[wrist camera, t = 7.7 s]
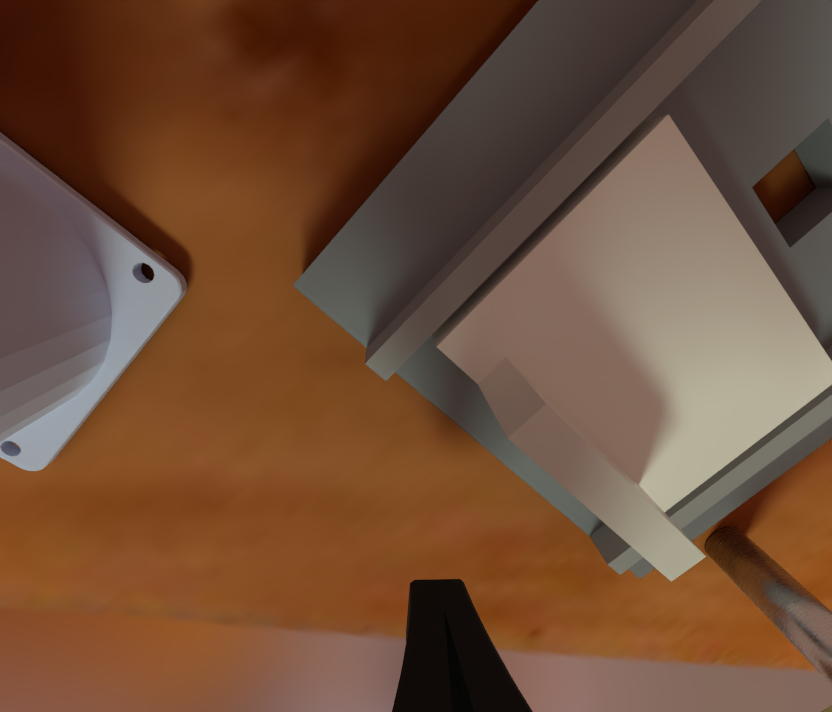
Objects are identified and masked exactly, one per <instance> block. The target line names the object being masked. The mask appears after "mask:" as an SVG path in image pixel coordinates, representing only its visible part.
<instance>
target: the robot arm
mask: <svg viewBox="0 0 832 712" xmlns="http://www.w3.org/2000/svg"><path fill="white" fill-rule="evenodd" d="M143 263H145V264H147V265H149V266H150V267H151V268H152V269H153V271H154V278H153V280H152V281H151V280H149V279H147V278H145V276H144V275H143V274H142V271H141V267H142V264H143ZM186 291H187V283H186V281H185V278H184V276H183V275H182V274H181V273H180V272H179V271H178V270H177V269H176V268H174V267H173V266H172V265H171V264H169V263H168V262H167V261H165V260H164V259H163V258H162V257H160V256H159V255H158V254H156V253H155V252H154V251H153V250H151V249H150V248H149V247H147V246H146V245H145V244H144V243H142V242H141V241H140V240H138V239H137V238H136V237H135V236H133V235H132V234H131V233H129V232H128V231H127V230H126V229H124V228H123V227H122V226H120V225H119V224H118V223H117V222H115V221H114V220H113V219H111V218H110V217H109V216H108V215H106V214H105V213H104V212H102V211H101V210H100V209H99V208H97V207H96V206H95V205H93V204H92V203H91V202H90V201H88V200H87V199H86V198H84V197H83V196H82V195H81V194H79V193H78V192H77V191H75V190H74V189H73V188H72V187H70V186H69V185H68V184H66V183H65V182H64V181H63V180H61V179H60V178H59V177H57V176H56V175H55V174H54V173H52V172H51V171H50V170H48V169H47V168H46V167H45V166H43V165H42V164H41V163H39V162H38V161H37V160H35V159H34V158H33V157H32V156H30V155H29V154H28V153H26V152H25V151H24V150H23V149H21V148H20V147H19V146H17V145H16V144H15V143H14V142H12V141H11V140H10V139H8V138H7V137H6V136H5V135H3V134H2V133H1V132H0V457H1V458H3V459H5V460H7V461H8V462H10V463H12V464H14V465H16V466H18V467H19V468H22V469H24V470H27V471H38V470H41V469H43V468H44V467H45V466H47V465H48V464H49V463H51V462H52V461H53V460H54V459H55V458H56V457H57V455H58V454H59V453H60V451H61V450H62V449H63V448H64V446H65V445H66V444H67V443H68V441H69V440H70V439H71V438H72V436H73V435H74V434H75V433H76V431H77V430H78V429H79V428H80V426H81V425H82V424H83V423H84V421H85V420H86V419H87V418H88V416H89V415H90V414H91V412H92V411H93V410H94V409H95V407H96V406H97V405H98V404H99V402H100V401H101V400H102V399H103V397H104V396H105V395H106V394H107V392H108V391H109V390H110V389H111V387H112V386H113V385H114V384H115V382H116V381H117V380H118V379H119V377H120V376H121V375H122V374H123V372H124V371H125V370H126V368H127V367H128V366H129V365H130V363H131V362H132V361H133V360H134V358H135V357H136V356H137V355H138V353H139V352H140V351H141V350H142V348H143V347H144V346H145V345H146V343H147V342H148V341H149V340H150V338H151V337H152V336H153V335H154V333H155V332H156V331H157V329H158V328H159V327H160V326H161V324H162V323H163V322H164V321H165V319H166V318H167V317H168V316H169V314H170V313H171V312H172V311H173V309H174V308H175V307H176V306H177V304H178V303H179V302H180V301H181V299H182V298H183V297H184V295H185V293H186ZM13 442H15V443H16V444H17V445H18V446H19V447H20V448H19V447H17V446H16V445H15V444H14V443H13ZM392 712H532V710H531V709H530V707H529V705H528V704H527V702H526V700H525V699H524V697H523V695H522V694H521V692H520V691H519V689H518V687H517V686H516V684H515V682H514V681H513V679H512V677H511V675H510V674H509V672H508V670H507V668H506V667H505V665H504V663H503V661H502V659H501V658H500V656H499V654H498V652H497V650H496V649H495V647H494V645H493V643H492V641H491V639H490V638H489V636H488V634H487V632H486V630H485V628H484V626H483V624H482V622H481V620H480V618H479V616H478V614H477V612H476V609H475V607H474V605H473V603H472V601H471V599H470V596H469V594H468V592H467V589H466V587H465V584H464V582H463V581H462V580H461V579H442V580H414V581H413V582H411V583H410V591H409V603H408V616H407V628H406V648H405V654H404V660H403V665H402V670H401V675H400V680H399V684H398V689H397V693H396V697H395V701H394V706H393V710H392Z"/></svg>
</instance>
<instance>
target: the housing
mask: <svg viewBox="0 0 832 712" xmlns="http://www.w3.org/2000/svg"><path fill="white" fill-rule="evenodd" d="M668 114H669V116H670V117H671V119H672V120H673V122H674V123H675V125H676V126H677V128H678V129H679V131H680V132H681V134H682V135H683V137H684V138H685V140H686V141H687V143H688V144H689V146H690V147H691V149H692V151H693V152H694V154H695V155H696V157H697V158H698V160H699V161H700V163H701V164H702V166H703V167H704V169H705V170H706V172H707V173H708V175H709V176H710V178H711V179H712V181H713V182H714V184H715V185H716V187H717V188H718V190H719V191H720V193H721V194H722V196H723V197H724V199H725V200H726V202H727V203H728V205H729V207H730V208H731V210H732V211H733V213H734V214H735V216H736V217H737V219H738V220H739V222H740V223H741V225H742V226H743V228H744V229H745V231H746V232H747V234H748V235H749V237H750V238H751V240H752V241H753V243H754V244H755V246H756V247H757V249H758V250H759V252H760V253H761V255H762V256H763V258H764V260H765V261H766V263H767V264H768V266H769V267H770V269H771V270H772V272H773V273H774V275H775V276H776V278H777V279H778V281H779V282H780V284H781V285H782V287H783V288H784V290H785V291H786V293H787V294H788V296H789V297H790V299H791V300H792V302H793V303H794V305H795V306H796V308H797V309H798V311H799V313H800V314H801V316H802V317H803V319H804V320H805V322H806V323H807V325H808V326H809V328H810V329H811V331H812V332H813V334H814V335H815V337H816V338H817V340H818V341H819V343H820V344H821V346H822V347H823V349H824V350H825V352H826V353H827V355H828V356H829V358H830V359H831V361H832V0H538V1H537V3H536V4H535V5H534V6H533V7H532V8H531V10H530V11H529V12H528V13H527V14H526V15H525V17H524V18H523V19H522V20H521V21H520V22H519V24H518V25H517V26H516V27H515V28H514V29H513V30H512V32H511V33H510V34H509V35H508V36H507V37H506V39H505V40H504V41H503V42H502V43H501V44H500V46H499V47H498V48H497V49H496V50H495V51H494V53H493V54H492V55H491V56H490V57H489V58H488V59H487V61H486V62H485V63H484V64H483V65H482V66H481V68H480V69H479V70H478V71H477V72H476V73H475V75H474V76H473V77H472V78H471V79H470V80H469V82H468V83H467V84H466V85H465V86H464V87H463V88H462V90H461V91H460V92H459V93H458V94H457V95H456V97H455V98H454V99H453V100H452V101H451V102H450V104H449V105H448V106H447V107H446V108H445V109H444V111H443V112H442V113H441V114H440V115H439V116H438V118H437V119H436V120H435V121H434V122H433V123H432V124H431V126H430V127H429V128H428V129H427V130H426V131H425V133H424V134H423V135H422V136H421V137H420V138H419V140H418V141H417V142H416V143H415V144H414V145H413V147H412V148H411V149H410V150H409V151H408V152H407V153H406V155H405V156H404V157H403V158H402V159H401V160H400V162H399V163H398V164H397V165H396V166H395V167H394V169H393V170H392V171H391V172H390V173H389V174H388V176H387V177H386V178H385V179H384V180H383V181H382V182H381V184H380V185H379V186H378V187H377V188H376V189H375V191H374V192H373V193H372V194H371V195H370V196H369V198H368V199H367V200H366V201H365V202H364V203H363V205H362V206H361V207H360V208H359V209H358V210H357V211H356V213H355V214H354V215H353V216H352V217H351V218H350V220H349V221H348V222H347V223H346V224H345V225H344V227H343V228H342V229H341V230H340V231H339V232H338V234H337V235H336V236H335V237H334V238H333V239H332V240H331V242H330V243H329V244H328V245H327V246H326V247H325V249H324V250H323V251H322V252H321V253H320V254H319V256H318V257H317V258H316V259H315V260H314V261H313V263H312V264H311V265H310V266H309V267H308V268H307V269H306V271H305V272H304V273H303V274H302V275H301V276H300V278H299V279H298V280H297V281H296V282H295V283H294V285H293V286H294V287H295V288H296V289H297V290H299V291H300V292H301V293H302V294H303V295H304V296H306V297H307V298H308V299H309V300H310V301H312V302H313V303H314V304H315V305H316V306H318V307H319V308H320V309H321V310H322V311H323V312H325V313H326V314H327V315H328V316H329V317H331V318H332V319H333V320H334V321H335V322H336V323H338V324H339V325H340V326H341V327H342V328H344V329H345V330H346V331H347V332H348V333H350V334H351V335H352V336H353V337H354V338H355V339H357V340H358V341H359V342H360V343H361V344H363V345H364V346H365V347H366V348H367V349H366V358H365V364H366V365H367V366H368V367H370V368H371V369H372V370H373V371H374V372H376V373H377V374H378V375H379V376H380V377H382V378H383V379H384V380H385V381H387V380H388V379H389V378H390V377H391V376H392V375H393V374H394V373H395V372H396V373H397V374H398V375H399V376H400V377H402V378H403V379H404V380H405V381H406V382H408V383H409V384H410V385H411V386H412V387H414V388H415V389H416V390H417V391H418V392H419V393H421V394H422V395H423V396H424V397H425V398H427V399H428V400H429V401H430V402H431V403H432V404H434V405H435V406H436V407H437V408H438V409H440V410H441V411H442V412H443V413H444V414H446V415H447V416H448V417H449V418H450V419H451V420H453V421H454V422H455V423H456V424H457V425H459V426H460V427H461V428H462V429H463V430H464V431H466V432H467V433H468V434H469V435H470V436H472V437H473V438H474V439H475V440H476V441H478V442H479V443H480V444H481V445H482V446H483V447H485V448H486V449H487V450H488V451H489V452H491V453H492V454H493V455H494V456H495V457H496V458H498V459H499V460H500V461H501V462H502V463H504V464H505V465H506V466H507V467H508V468H510V469H511V470H512V471H513V472H514V473H515V474H517V475H518V476H519V477H520V478H521V479H523V480H524V481H525V482H526V483H527V484H528V485H530V486H531V487H532V488H533V489H534V490H536V491H537V492H538V493H539V494H540V495H542V496H543V497H544V498H545V499H546V500H547V501H549V502H550V503H551V504H552V505H553V506H555V507H556V508H557V509H558V510H559V511H560V512H562V513H563V514H564V515H565V516H566V517H568V518H569V519H570V520H571V521H572V522H574V523H575V524H576V525H577V526H578V527H579V528H581V529H582V530H583V531H584V532H585V533H587V534H588V535H589V536H590V538H591V539H592V541H593V542H594V544H595V545H596V547H597V549H598V550H599V552H600V553H601V555H602V556H603V558H604V559H605V561H606V563H607V564H608V565H609V566H610V567H611V568H613V569H614V570H615V571H616V572H617V573H619V574H620V575H621V574H622V573H623V572H625V571H626V570H627V569H629V570H630V571H632V572H633V573H634V574H635V575H636V576H638V577H639V578H640V579H641V578H642V577H643V576H645V575H646V574H647V573H649V572H650V571H652V570H653V569H654V568H655V567H654V566H653V565H652V564H651V563H649V562H648V561H647V560H646V559H645V558H644V557H643V556H641V555H640V554H639V553H638V552H637V551H636V550H635V549H633V548H632V547H631V546H630V545H629V544H628V543H627V542H625V541H624V540H623V539H622V538H621V537H620V536H619V535H617V534H616V533H615V532H614V531H613V530H612V529H611V528H609V527H608V526H607V525H606V524H605V523H604V522H603V521H601V520H600V519H599V518H598V517H597V516H596V515H595V514H593V513H592V512H591V511H590V510H589V509H588V508H587V507H585V506H584V505H583V504H582V503H581V502H580V501H579V500H577V499H576V498H575V497H574V496H573V495H572V494H571V493H569V492H568V491H567V490H566V489H565V488H564V487H563V486H561V485H560V484H559V483H558V482H557V481H556V480H555V479H553V478H552V477H551V476H550V475H549V474H548V473H547V472H545V471H544V470H543V469H542V468H541V467H540V466H539V465H538V464H536V463H535V462H534V461H533V460H532V459H531V458H530V457H528V456H527V455H526V454H525V453H524V452H523V451H522V450H520V449H519V448H518V447H517V446H516V445H515V444H514V443H512V442H511V441H510V440H509V439H508V438H507V436H506V434H505V433H504V431H503V429H502V427H501V425H500V424H499V422H498V420H497V418H496V416H495V415H494V413H493V411H492V409H491V407H490V406H489V404H488V402H487V400H486V398H485V397H484V395H483V393H482V391H481V389H480V388H479V386H478V384H477V383H476V382H475V381H474V380H472V379H471V378H470V377H469V376H468V375H467V374H466V373H465V372H464V371H463V370H461V369H460V368H459V367H458V366H457V365H456V364H455V363H454V362H453V361H452V360H450V359H449V358H448V357H447V356H446V355H445V354H444V353H443V352H442V351H440V350H439V349H438V348H437V347H436V345H435V342H434V340H433V337H432V334H433V333H434V332H435V331H436V330H437V329H438V328H439V327H440V326H441V325H442V324H443V323H444V322H445V321H446V320H447V319H448V318H449V317H450V316H451V315H452V314H453V313H454V312H455V311H456V310H457V309H458V308H459V307H460V306H461V305H462V304H463V303H464V302H465V301H466V300H467V299H468V298H469V297H470V296H471V295H472V294H473V293H474V291H475V290H476V289H477V288H478V287H479V286H480V285H481V284H482V283H483V282H484V281H485V280H486V279H487V278H488V277H489V276H490V275H491V274H492V273H493V272H494V271H495V270H496V269H497V268H498V267H499V266H500V265H501V264H502V263H503V262H504V261H505V260H506V259H507V258H508V257H509V256H510V255H511V254H512V253H513V252H514V251H515V250H516V249H517V248H518V247H519V246H520V245H521V244H522V243H523V242H524V241H525V240H526V239H527V238H528V237H529V236H530V235H531V234H532V233H533V232H534V231H535V230H536V229H537V228H538V227H539V226H540V225H541V224H542V223H543V222H544V221H545V220H546V219H547V218H548V217H549V216H550V215H551V213H552V212H553V211H554V210H555V209H556V208H557V207H558V206H559V205H560V204H561V203H562V202H563V201H564V200H565V199H566V198H567V197H568V196H569V195H570V194H571V193H572V192H573V191H574V190H575V189H576V188H577V187H578V186H579V185H580V184H581V183H582V182H583V181H584V180H585V179H586V178H587V177H588V176H589V175H590V174H591V173H592V172H593V171H594V170H595V169H596V168H597V167H598V166H599V165H600V164H601V163H602V162H603V161H604V160H605V159H606V158H607V157H608V156H609V155H610V154H611V153H612V152H613V151H614V150H615V149H616V148H617V147H618V146H619V145H620V144H621V143H622V142H623V141H624V140H625V139H626V138H627V137H628V136H629V134H630V133H631V132H632V131H633V130H634V129H635V128H636V127H637V126H638V125H639V124H641V123H644V122H647V121H650V120H653V119H656V118H659V117H662V116H665V115H668ZM793 149H795V151H796V153H797V155H798V156H799V158H800V160H801V162H802V164H803V165H804V167H805V169H806V171H807V172H808V174H809V176H810V178H811V180H812V181H813V183H814V185H815V187H816V188H815V189H814V190H813V191H812V192H811V193H810V194H809V195H807V196H806V197H805V198H804V199H803V200H802V201H801V202H800V203H798V204H797V205H796V206H795V207H794V208H793V209H792V210H790V211H789V212H788V213H787V214H786V215H785V216H784V217H782V218H781V219H780V220H779V221H778V222H777V223H776V224H774V222H773V220H772V219H771V217H770V216H769V214H768V212H767V211H766V209H765V208H764V206H763V204H762V203H761V201H760V200H759V198H758V196H757V195H756V193H755V192H754V190H753V188H752V187H753V186H754V185H755V184H756V183H757V182H758V181H759V180H760V179H762V178H763V177H764V176H765V175H766V174H767V173H768V172H769V171H770V170H771V169H773V168H774V167H775V166H776V165H777V164H778V163H779V162H780V161H781V160H782V159H783V158H785V157H786V156H787V155H788V154H789V153H790V152H791V151H792V150H793ZM831 438H832V385H831V386H829V387H828V388H827V389H825V390H824V391H823V392H821V393H820V394H819V395H817V396H816V397H815V398H814V399H812V400H811V401H810V402H808V403H807V404H806V405H804V406H803V407H802V408H800V409H799V410H798V411H797V412H795V413H794V414H793V415H791V416H790V417H789V418H787V419H786V420H785V421H783V422H782V423H781V424H780V425H778V426H777V427H776V428H774V429H773V430H772V431H770V432H769V433H768V434H766V435H765V436H764V437H763V438H761V439H760V440H759V441H757V442H756V443H755V444H753V445H752V446H751V447H749V448H748V449H747V450H746V451H744V452H743V453H742V454H740V455H739V456H738V457H736V458H735V459H734V460H732V461H731V462H730V463H729V464H727V465H726V466H725V467H723V468H722V469H721V470H719V471H718V472H717V473H715V474H714V475H713V476H712V477H710V478H709V479H708V480H706V481H705V482H704V483H702V484H701V485H700V486H698V487H697V488H696V489H695V490H693V491H692V492H691V493H689V494H688V495H687V496H685V497H684V498H683V499H681V500H680V501H679V502H677V503H676V504H675V505H674V506H672V507H671V508H670V509H668V510H667V511H666V512H665V513H666V514H667V516H668V517H669V518H670V519H671V520H672V521H673V522H674V523H675V524H676V525H677V526H678V527H679V528H680V529H681V530H682V532H683V533H684V534H685V535H686V536H687V537H688V538H689V539H690V540H691V541H692V540H694V539H695V538H696V537H698V536H699V535H701V534H702V533H703V532H705V531H706V530H707V529H709V528H710V527H711V526H713V525H714V524H715V523H717V522H718V521H720V520H721V519H722V518H724V517H725V516H726V515H728V514H729V513H730V512H732V511H733V510H735V509H736V508H737V507H739V506H740V505H741V504H743V503H744V502H745V501H747V500H748V499H749V498H751V497H752V496H754V495H755V494H756V493H758V492H759V491H760V490H762V489H763V488H764V487H766V486H767V485H769V484H770V483H771V482H773V481H774V480H775V479H777V478H778V477H779V476H781V475H782V474H784V473H785V472H786V471H788V470H789V469H790V468H792V467H793V466H794V465H796V464H797V463H798V462H800V461H801V460H803V459H804V458H805V457H807V456H808V455H809V454H811V453H812V452H813V451H815V450H816V449H818V448H819V447H820V446H822V445H823V444H824V443H826V442H827V441H828V440H830V439H831Z"/></svg>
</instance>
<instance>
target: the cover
mask: <svg viewBox="0 0 832 712" xmlns="http://www.w3.org/2000/svg"><path fill="white" fill-rule="evenodd" d="M432 337H433V340H434V342H435V345H436V347H437V348H438V349H439V350H440V351H442V352H443V353H444V354H445V355H446V356H447V357H448V358H449V359H450V360H452V361H453V362H454V363H455V364H456V365H457V366H458V367H459V368H460V369H461V370H463V371H464V372H465V373H466V374H467V375H468V376H469V377H470V378H471V379H472V380H474V381H475V382H476V383H477V384H478V386H479V388H480V389H481V391H482V393H483V395H484V397H485V398H486V400H487V402H488V404H489V406H490V407H491V409H492V411H493V413H494V415H495V416H496V418H497V420H498V422H499V424H500V425H501V427H502V429H503V431H504V433H505V434H506V436H507V438H508V439H509V440H510V441H511V442H512V443H514V444H515V445H516V446H517V447H518V448H519V449H520V450H522V451H523V452H524V453H525V454H526V455H527V456H528V457H530V458H531V459H532V460H533V461H534V462H535V463H536V464H538V465H539V466H540V467H541V468H542V469H543V470H544V471H545V472H547V473H548V474H549V475H550V476H551V477H552V478H553V479H555V480H556V481H557V482H558V483H559V484H560V485H561V486H563V487H564V488H565V489H566V490H567V491H568V492H569V493H571V494H572V495H573V496H574V497H575V498H576V499H577V500H579V501H580V502H581V503H582V504H583V505H584V506H585V507H587V508H588V509H589V510H590V511H591V512H592V513H593V514H595V515H596V516H597V517H598V518H599V519H600V520H601V521H603V522H604V523H605V524H606V525H607V526H608V527H609V528H611V529H612V530H613V531H614V532H615V533H616V534H617V535H619V536H620V537H621V538H622V539H623V540H624V541H625V542H627V543H628V544H629V545H630V546H631V547H632V548H633V549H635V550H636V551H637V552H638V553H639V554H640V555H641V556H643V557H644V558H645V559H646V560H647V561H648V562H649V563H651V564H652V565H653V566H654V567H655V568H656V569H657V570H659V571H660V572H661V573H662V574H663V575H664V576H665V577H667V578H668V579H669V580H670V581H673V580H674V579H676V578H677V577H678V576H680V575H681V574H683V573H684V572H685V571H687V570H688V569H689V568H691V567H692V566H694V565H695V564H696V563H698V562H699V561H701V560H702V559H703V558H705V557H706V556H705V555H704V554H703V553H702V552H701V551H700V550H699V549H698V547H697V546H696V545H695V544H694V543H693V542H692V541H691V540H690V539H689V538H688V537H687V536H686V535H685V534H684V533H683V532H682V530H681V529H680V528H679V527H678V526H677V525H676V524H675V523H674V522H673V521H672V520H671V519H670V518H669V517H668V516H667V514H666V513H665V512H666V511H667V510H668V509H670V508H671V507H672V506H674V505H675V504H676V503H677V502H679V501H680V500H681V499H683V498H684V497H685V496H687V495H688V494H689V493H691V492H692V491H693V490H695V489H696V488H697V487H698V486H700V485H701V484H702V483H704V482H705V481H706V480H708V479H709V478H710V477H712V476H713V475H714V474H715V473H717V472H718V471H719V470H721V469H722V468H723V467H725V466H726V465H727V464H729V463H730V462H731V461H732V460H734V459H735V458H736V457H738V456H739V455H740V454H742V453H743V452H744V451H746V450H747V449H748V448H749V447H751V446H752V445H753V444H755V443H756V442H757V441H759V440H760V439H761V438H763V437H764V436H765V435H766V434H768V433H769V432H770V431H772V430H773V429H774V428H776V427H777V426H778V425H780V424H781V423H782V422H783V421H785V420H786V419H787V418H789V417H790V416H791V415H793V414H794V413H795V412H797V411H798V410H799V409H800V408H802V407H803V406H804V405H806V404H807V403H808V402H810V401H811V400H812V399H814V398H815V397H816V396H817V395H819V394H820V393H821V392H823V391H824V390H825V389H827V388H828V387H829V386H831V385H832V361H831V359H830V358H829V356H828V355H827V353H826V352H825V350H824V349H823V347H822V346H821V344H820V343H819V341H818V340H817V338H816V337H815V335H814V334H813V332H812V331H811V329H810V328H809V326H808V325H807V323H806V322H805V320H804V319H803V317H802V316H801V314H800V313H799V311H798V309H797V308H796V306H795V305H794V303H793V302H792V300H791V299H790V297H789V296H788V294H787V293H786V291H785V290H784V288H783V287H782V285H781V284H780V282H779V281H778V279H777V278H776V276H775V275H774V273H773V272H772V270H771V269H770V267H769V266H768V264H767V263H766V261H765V260H764V258H763V256H762V255H761V253H760V252H759V250H758V249H757V247H756V246H755V244H754V243H753V241H752V240H751V238H750V237H749V235H748V234H747V232H746V231H745V229H744V228H743V226H742V225H741V223H740V222H739V220H738V219H737V217H736V216H735V214H734V213H733V211H732V210H731V208H730V207H729V205H728V203H727V202H726V200H725V199H724V197H723V196H722V194H721V193H720V191H719V190H718V188H717V187H716V185H715V184H714V182H713V181H712V179H711V178H710V176H709V175H708V173H707V172H706V170H705V169H704V167H703V166H702V164H701V163H700V161H699V160H698V158H697V157H696V155H695V154H694V152H693V151H692V149H691V147H690V146H689V144H688V143H687V141H686V140H685V138H684V137H683V135H682V134H681V132H680V131H679V129H678V128H677V126H676V125H675V123H674V122H673V120H672V119H671V117H670V116H669V114H668V115H665V116H662V117H659V118H656V119H653V120H650V121H647V122H644V123H641V124H639V125H638V126H637V127H636V128H635V129H634V130H633V131H632V132H631V133H630V134H629V136H628V137H627V138H626V139H625V140H624V141H623V142H622V143H621V144H620V145H619V146H618V147H617V148H616V149H615V150H614V151H613V152H612V153H611V154H610V155H609V156H608V157H607V158H606V159H605V160H604V161H603V162H602V163H601V164H600V165H599V166H598V167H597V168H596V169H595V170H594V171H593V172H592V173H591V174H590V175H589V176H588V177H587V178H586V179H585V180H584V181H583V182H582V183H581V184H580V185H579V186H578V187H577V188H576V189H575V190H574V191H573V192H572V193H571V194H570V195H569V196H568V197H567V198H566V199H565V200H564V201H563V202H562V203H561V204H560V205H559V206H558V207H557V208H556V209H555V210H554V211H553V212H552V213H551V215H550V216H549V217H548V218H547V219H546V220H545V221H544V222H543V223H542V224H541V225H540V226H539V227H538V228H537V229H536V230H535V231H534V232H533V233H532V234H531V235H530V236H529V237H528V238H527V239H526V240H525V241H524V242H523V243H522V244H521V245H520V246H519V247H518V248H517V249H516V250H515V251H514V252H513V253H512V254H511V255H510V256H509V257H508V258H507V259H506V260H505V261H504V262H503V263H502V264H501V265H500V266H499V267H498V268H497V269H496V270H495V271H494V272H493V273H492V274H491V275H490V276H489V277H488V278H487V279H486V280H485V281H484V282H483V283H482V284H481V285H480V286H479V287H478V288H477V289H476V290H475V291H474V293H473V294H472V295H471V296H470V297H469V298H468V299H467V300H466V301H465V302H464V303H463V304H462V305H461V306H460V307H459V308H458V309H457V310H456V311H455V312H454V313H453V314H452V315H451V316H450V317H449V318H448V319H447V320H446V321H445V322H444V323H443V324H442V325H441V326H440V327H439V328H438V329H437V330H436V331H435V332H434V333H433V334H432Z"/></svg>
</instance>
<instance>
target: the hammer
mask: <svg viewBox="0 0 832 712" xmlns="http://www.w3.org/2000/svg"><path fill="white" fill-rule="evenodd" d="M705 551H706V553H707V554H708V555H709V556H710V557H711V558H712V559H713V561H714V562H715V563H716V564H717V565H718V566H719V567H720V568H721V569H722V570H723V571H724V572H725V573H726V574H727V575H728V576H729V577H730V578H731V579H732V581H733V582H734V583H735V584H736V585H737V586H738V587H739V588H740V589H741V590H742V591H743V592H744V593H745V594H746V595H747V596H748V597H749V598H750V599H751V601H752V602H753V603H754V604H755V605H756V606H757V607H758V608H759V609H760V610H761V611H762V612H763V613H764V614H765V615H766V616H767V617H768V618H769V619H770V621H771V622H772V623H773V624H774V625H775V626H776V627H777V628H778V629H779V630H780V631H781V632H782V633H783V634H784V635H785V636H786V637H787V638H788V639H789V640H790V642H791V643H792V644H793V645H794V646H795V647H796V648H797V649H798V650H799V651H800V652H801V653H802V654H803V655H804V656H805V657H806V658H807V659H808V660H809V662H810V663H811V664H812V665H813V666H814V667H815V668H816V669H817V670H818V671H819V672H820V673H821V674H822V675H823V676H824V677H825V678H826V679H827V680H828V682H829V683H831V684H832V611H830V610H829V609H828V608H827V607H826V606H825V605H824V604H823V603H821V602H820V601H819V600H818V599H817V598H816V597H815V596H814V595H812V594H811V593H810V592H809V591H808V590H807V589H806V588H805V587H803V586H802V585H801V584H800V583H799V582H798V581H797V580H796V579H794V578H793V577H792V576H791V575H790V574H789V573H788V572H787V571H785V570H784V569H783V568H782V567H781V566H780V565H779V564H778V563H776V562H775V561H774V560H773V559H772V558H771V557H770V556H769V555H767V554H766V553H765V552H764V551H763V550H762V549H761V548H760V547H758V546H757V545H756V544H755V543H754V542H753V541H752V540H751V539H749V538H748V537H747V536H746V535H745V534H744V533H743V532H742V531H740V530H739V529H737V528H734V527H728V528H723V529H721V530H718V531H717V532H715V533H714V534H712V535H711V536H710V538H709V539H708V540H707V542H706V545H705ZM822 712H832V706H830V707H828V708H827V709H825V710H823V711H822Z"/></svg>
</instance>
